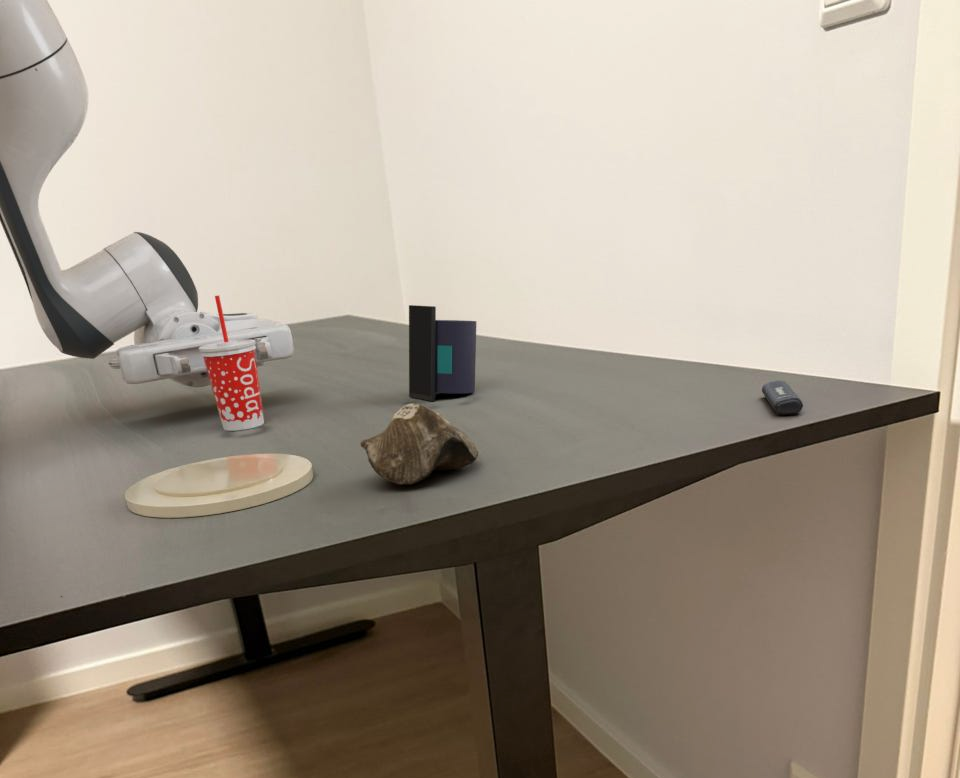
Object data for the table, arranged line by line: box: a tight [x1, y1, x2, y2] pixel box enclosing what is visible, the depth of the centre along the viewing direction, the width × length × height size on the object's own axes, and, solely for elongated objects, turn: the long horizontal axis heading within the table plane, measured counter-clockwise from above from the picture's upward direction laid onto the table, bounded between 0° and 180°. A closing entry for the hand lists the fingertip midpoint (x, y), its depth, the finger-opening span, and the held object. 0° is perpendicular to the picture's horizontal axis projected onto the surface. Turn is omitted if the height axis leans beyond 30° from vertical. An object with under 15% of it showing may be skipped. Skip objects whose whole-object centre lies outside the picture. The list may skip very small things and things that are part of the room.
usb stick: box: [761, 379, 804, 416], centre depth 90 cm, size 10×3×2 cm, turn 172°
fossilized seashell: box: [360, 403, 479, 485], centre depth 79 cm, size 8×7×10 cm
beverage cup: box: [199, 295, 265, 432], centre depth 105 cm, size 6×6×14 cm
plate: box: [124, 453, 314, 519], centre depth 83 cm, size 16×16×1 cm
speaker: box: [408, 304, 477, 402], centre depth 110 cm, size 8×6×10 cm
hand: (224, 358), depth 106 cm, fingers open, 8 cm apart
